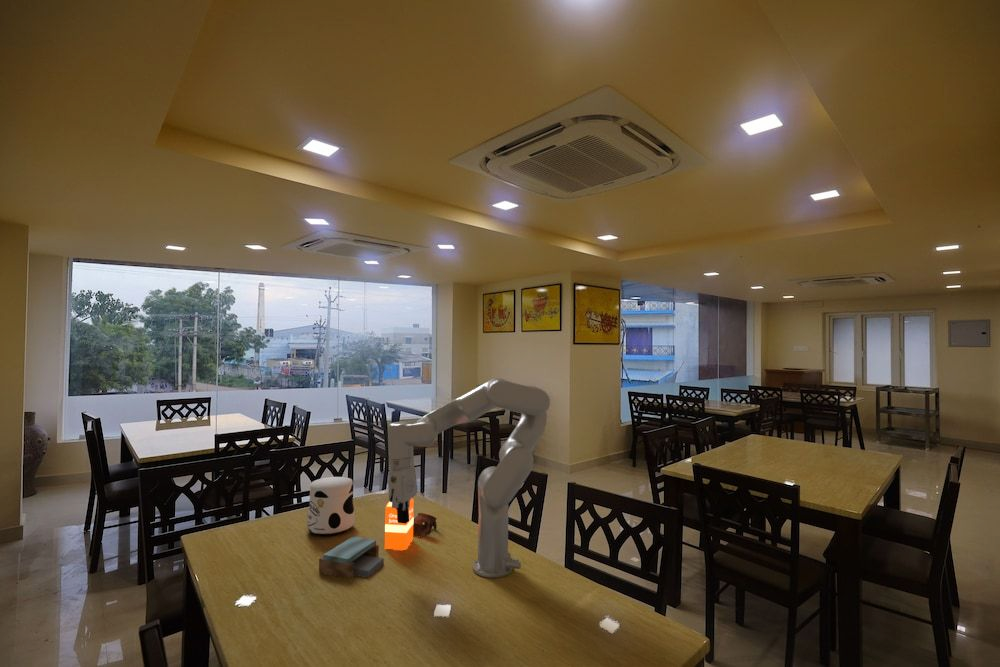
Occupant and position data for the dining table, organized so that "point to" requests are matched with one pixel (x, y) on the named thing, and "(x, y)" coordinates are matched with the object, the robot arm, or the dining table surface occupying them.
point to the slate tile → (367, 565)
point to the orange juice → (398, 528)
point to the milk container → (331, 506)
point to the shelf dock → (344, 567)
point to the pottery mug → (428, 524)
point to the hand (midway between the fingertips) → (403, 522)
